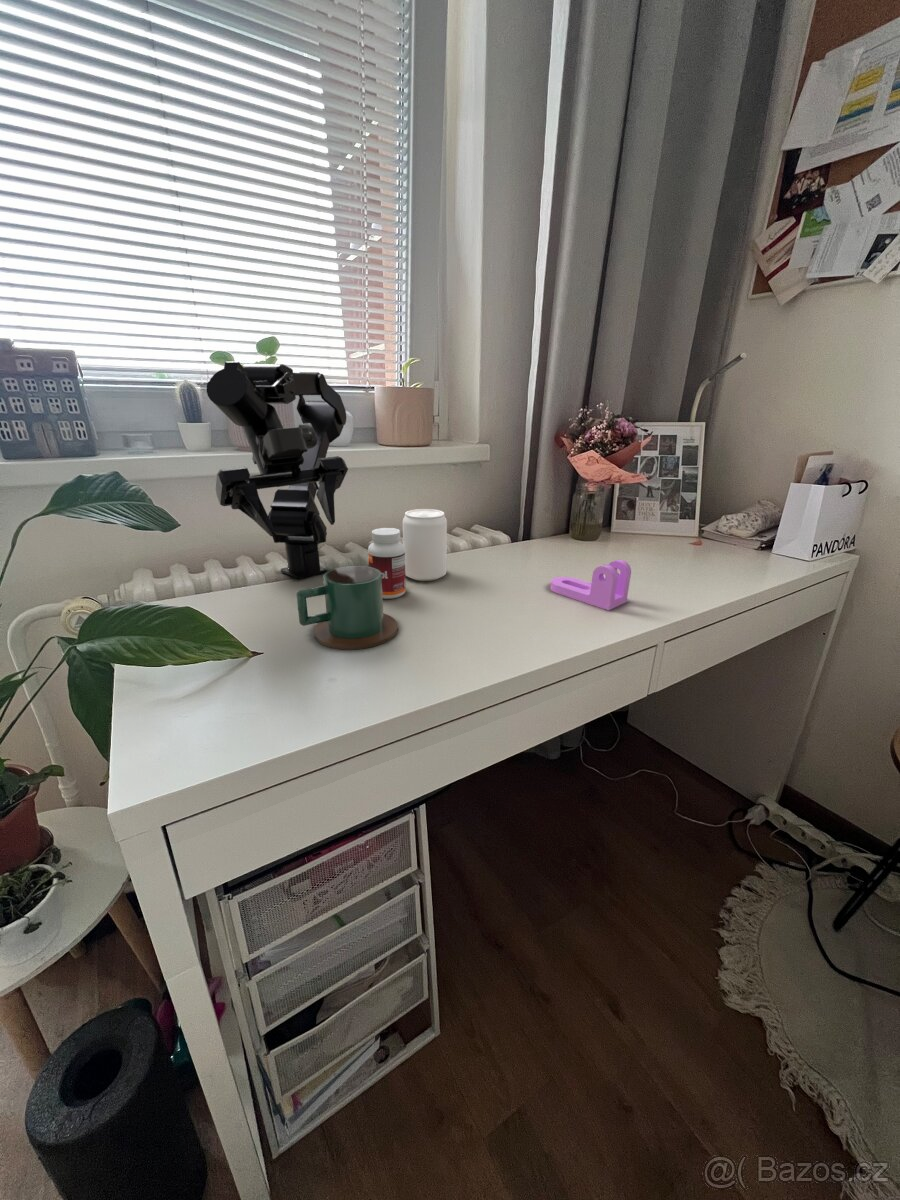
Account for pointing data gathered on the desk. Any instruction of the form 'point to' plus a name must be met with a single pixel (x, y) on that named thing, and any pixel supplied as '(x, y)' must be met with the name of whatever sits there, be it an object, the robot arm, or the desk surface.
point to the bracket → (598, 586)
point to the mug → (347, 602)
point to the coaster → (361, 643)
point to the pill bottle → (388, 561)
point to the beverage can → (425, 544)
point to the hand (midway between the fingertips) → (304, 529)
